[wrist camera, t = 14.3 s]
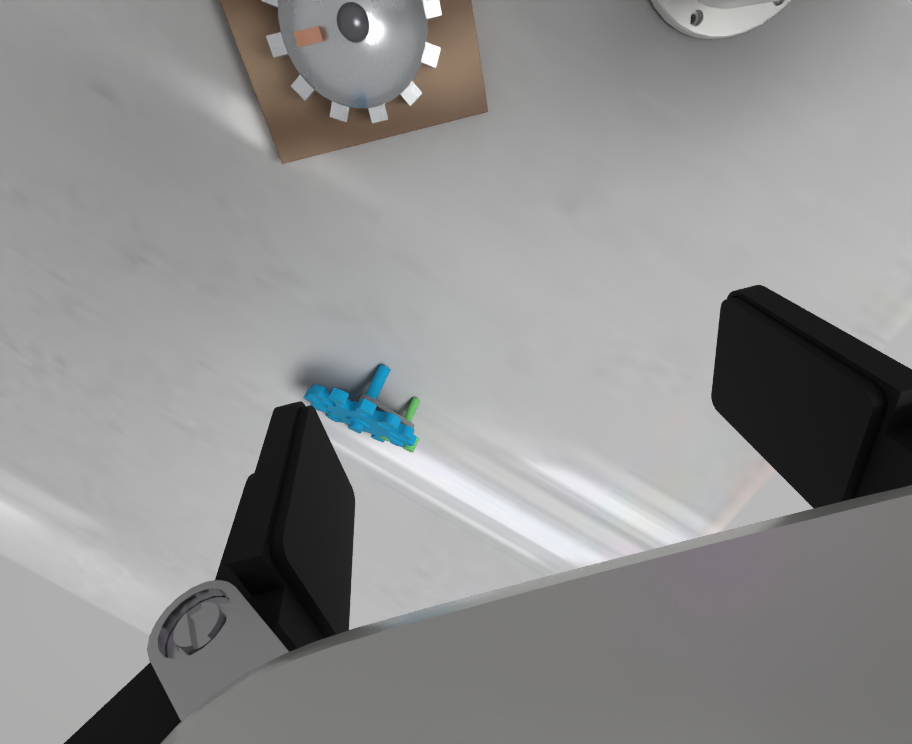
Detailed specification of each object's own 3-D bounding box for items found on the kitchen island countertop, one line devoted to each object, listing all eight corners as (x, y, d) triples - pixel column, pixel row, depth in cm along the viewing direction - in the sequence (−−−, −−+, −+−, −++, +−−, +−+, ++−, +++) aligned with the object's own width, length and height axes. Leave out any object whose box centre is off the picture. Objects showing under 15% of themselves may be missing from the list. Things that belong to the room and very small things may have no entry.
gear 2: (280, 398, 41) (340, 402, 34) (312, 340, 43) (375, 332, 36) (374, 451, 48) (442, 464, 40) (399, 398, 50) (467, 402, 42)
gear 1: (414, -101, 26) (421, -133, 22) (452, 99, 31) (463, 104, 27) (240, -58, 26) (215, -81, 22) (307, 136, 31) (297, 146, 27)
